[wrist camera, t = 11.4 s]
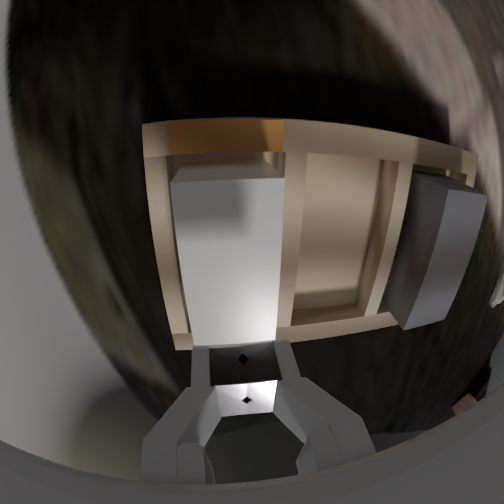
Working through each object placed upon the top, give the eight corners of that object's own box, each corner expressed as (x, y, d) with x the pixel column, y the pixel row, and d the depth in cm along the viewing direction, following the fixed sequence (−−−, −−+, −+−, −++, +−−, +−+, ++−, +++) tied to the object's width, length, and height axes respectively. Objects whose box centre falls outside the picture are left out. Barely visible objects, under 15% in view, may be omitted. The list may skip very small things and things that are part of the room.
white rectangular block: (182, 163, 13) (170, 183, 9) (265, 159, 13) (284, 178, 10) (198, 310, 17) (197, 359, 13) (262, 306, 17) (274, 353, 14)
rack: (156, 122, 13) (123, 127, 8) (450, 145, 15) (505, 165, 10) (179, 319, 19) (173, 381, 14) (412, 295, 21) (446, 336, 17)
